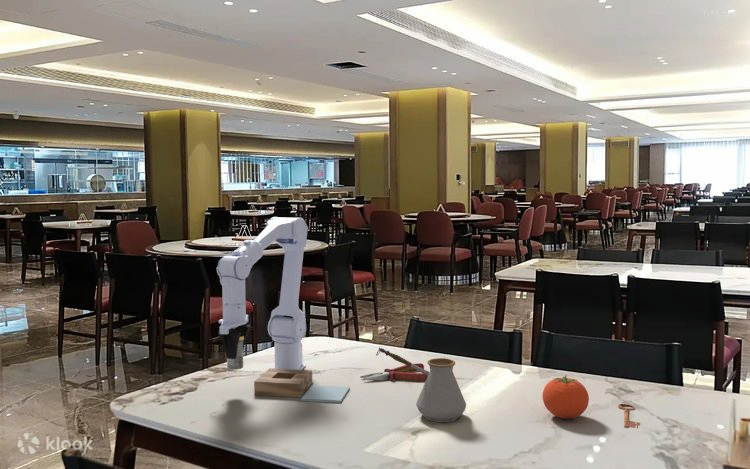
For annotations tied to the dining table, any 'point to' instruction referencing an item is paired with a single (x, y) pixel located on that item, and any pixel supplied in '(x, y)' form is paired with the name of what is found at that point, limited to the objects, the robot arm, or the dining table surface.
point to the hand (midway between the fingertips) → (235, 355)
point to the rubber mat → (325, 394)
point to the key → (626, 421)
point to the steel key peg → (237, 357)
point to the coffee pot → (437, 390)
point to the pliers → (398, 374)
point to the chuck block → (283, 382)
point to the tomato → (565, 397)
